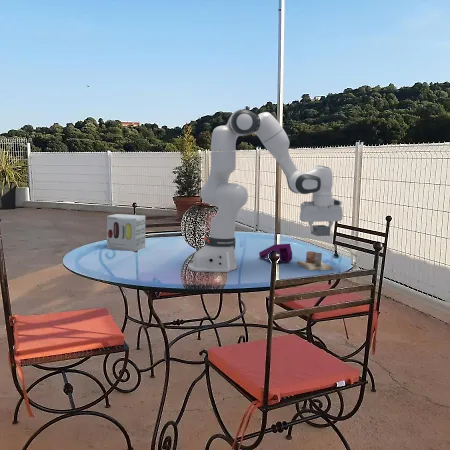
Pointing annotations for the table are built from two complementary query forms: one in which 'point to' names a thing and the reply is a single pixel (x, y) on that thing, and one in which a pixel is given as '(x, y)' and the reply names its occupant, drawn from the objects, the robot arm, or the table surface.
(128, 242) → the supplement box
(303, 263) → the post board
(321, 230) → the collar
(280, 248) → the mounting bracket
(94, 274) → the table surface
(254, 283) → the table surface
